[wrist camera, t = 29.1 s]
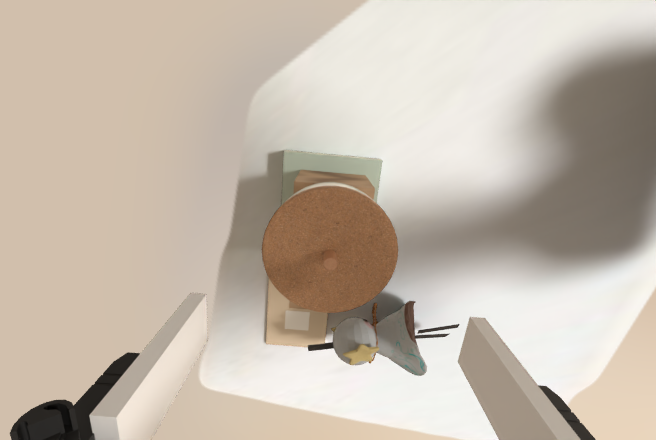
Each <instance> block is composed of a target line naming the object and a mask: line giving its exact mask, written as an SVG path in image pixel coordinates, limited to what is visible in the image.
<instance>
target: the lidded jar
mask: <svg viewBox="0 0 656 440" xmlns="http://www.w3.org/2000/svg"><path fill="white" fill-rule="evenodd" d="M262 257H263V263H264V267H265V270H266V272H267V275H268V277H269V279H270V280H271V282H272V284H273V285H274V287H275V288H276V289H277V290H278V291H279V292H280V293H281V294H282V295H283V296H284V297H286V298H287V299H288V300H289V301H291V302H293V303H294V304H296V305H298V306H300V307H303V308H305V309H308V310H312V311H316V312H323V313H336V312H344V311H348V310H351V309H355V308H357V307H359V306H362V305H364V304H365V303H367V302H369V301H370V300H372V299H373V298H374V297H375V296H377V295H378V294H379V293H380V292H381V291H382V290H383V288H384V287H385V286H386V285H387V283H388V282H389V280H390V278H391V277H392V274H393V272H394V270H395V267H396V262H397V257H398V244H397V237H396V234H395V230H394V228H393V226H392V224H391V221H390V219H389V218H388V217H387V215H386V214H385V212H384V211H383V210H382V208H381V207H380V206H379V205H378V204H377V203H376V202H374V201H373V200H372V199H371V198H370V197H369V196H368V195H366V194H365V193H364V192H362V191H361V190H359V189H357V188H355V187H353V186H350V185H347V184H343V183H337V182H322V183H316V184H313V185H310V186H307V187H305V188H303V189H301V190H299V191H297V192H296V193H295V194H293V195H292V196H291V197H289V198H288V199H287V200H286V201H285V202H284V203H283V204H282V206H281V207H280V208H279V209H278V210H277V211H276V212H275V214H274V215H273V217H272V218H271V220H270V222H269V224H268V226H267V228H266V230H265V234H264V238H263V244H262Z"/></svg>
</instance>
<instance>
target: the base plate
mask: <svg viewBox="0 0 656 440" xmlns="http://www.w3.org/2000/svg"><path fill="white" fill-rule="evenodd" d="M381 167H382V160H381V159H376V158H365V157H355V156H344V155H333V154H323V153H312V152H302V151H291V150H285V151H284V159H283V180H282V200H281V206H282V204H283V203H284V202H285V201H286V200H287V199H288V198H289V197H291V196H292V195H293V193H294V181H295V179H296V177H297V175H298V174H299V172H300V170H311V171H322V172H334V173H345V174H356V175H366V177H367V178H368V179H369V181H370V182H371V184H372V185H373V186H374V188H375V193H374V200H373V201H374V202H377V195H378V188H379V181H380V174H381Z"/></svg>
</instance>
